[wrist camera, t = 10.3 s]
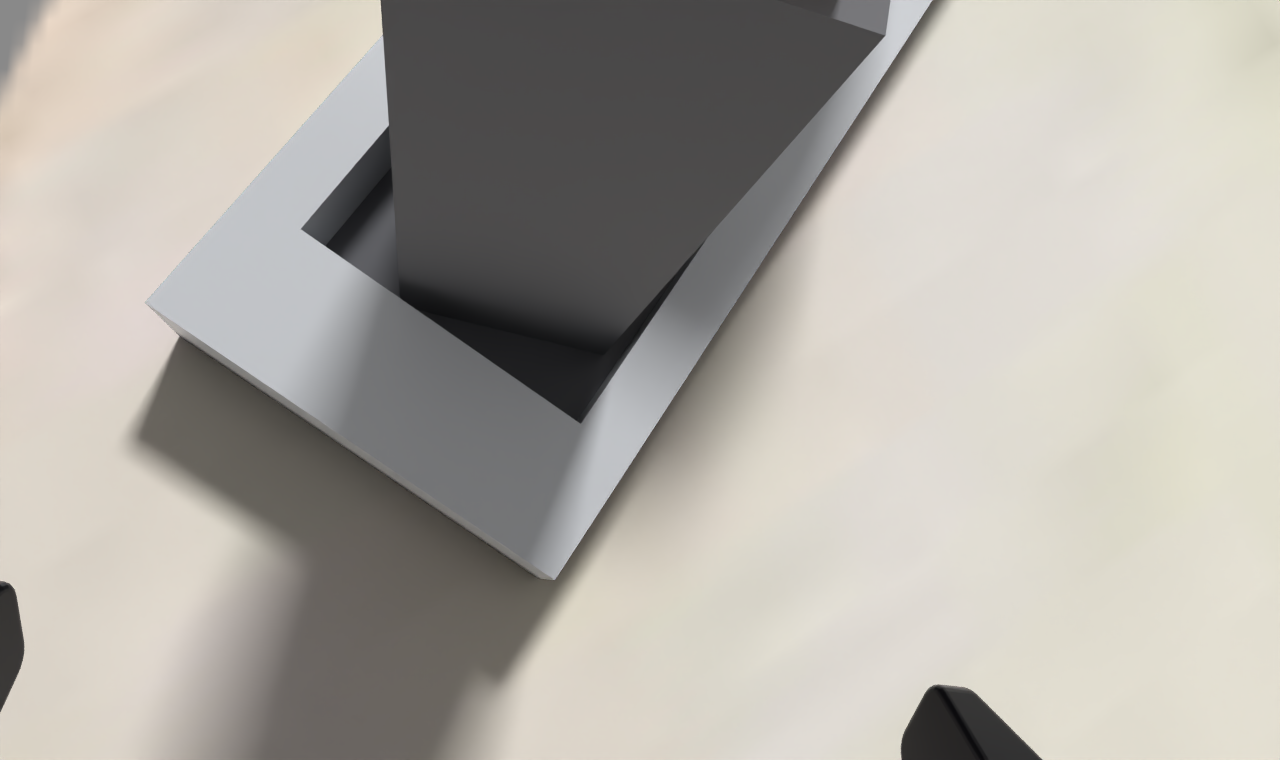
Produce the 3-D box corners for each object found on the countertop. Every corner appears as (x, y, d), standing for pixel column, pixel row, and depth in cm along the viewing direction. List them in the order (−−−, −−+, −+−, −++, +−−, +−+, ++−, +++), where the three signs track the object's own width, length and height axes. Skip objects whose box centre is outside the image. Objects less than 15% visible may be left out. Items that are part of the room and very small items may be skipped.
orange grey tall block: (603, 355, 21) (932, -19, 7) (400, 306, 20) (366, -214, 7) (640, 172, 22) (986, -438, 8) (449, 118, 21) (504, -650, 8)
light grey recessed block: (538, 578, 20) (554, 580, 17) (178, 335, 19) (145, 302, 17) (977, -90, 26) (1034, -156, 24) (720, -292, 25) (751, -380, 23)
